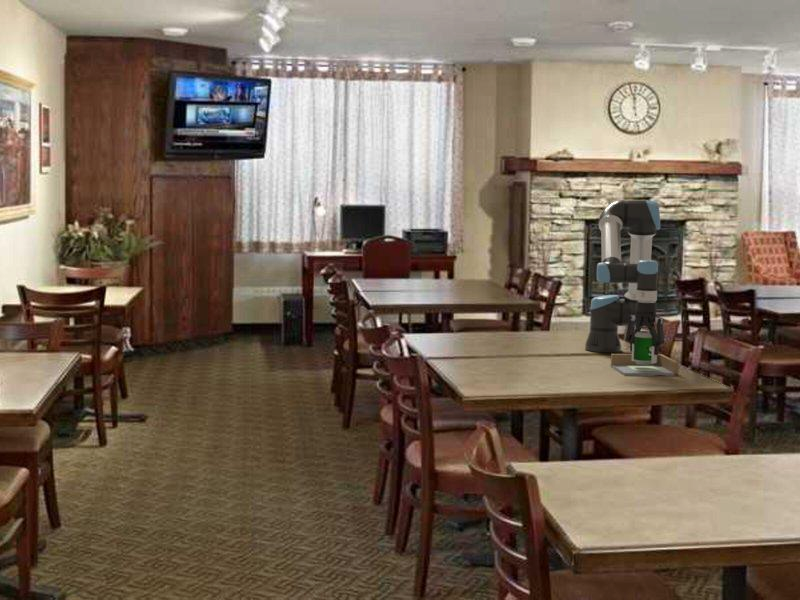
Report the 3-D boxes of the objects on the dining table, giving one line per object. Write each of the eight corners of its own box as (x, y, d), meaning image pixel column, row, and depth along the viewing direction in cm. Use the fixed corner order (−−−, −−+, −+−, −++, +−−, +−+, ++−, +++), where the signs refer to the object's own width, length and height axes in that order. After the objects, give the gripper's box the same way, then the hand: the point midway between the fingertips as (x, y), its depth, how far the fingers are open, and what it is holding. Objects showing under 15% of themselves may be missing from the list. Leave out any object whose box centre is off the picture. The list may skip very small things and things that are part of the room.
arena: (610, 366, 409) (611, 353, 409) (661, 366, 411) (662, 354, 410) (624, 375, 390) (625, 362, 389) (678, 375, 391) (678, 362, 390)
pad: (627, 366, 405) (627, 365, 405) (652, 366, 405) (652, 365, 405) (634, 370, 395) (634, 370, 395) (660, 370, 395) (660, 370, 395)
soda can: (644, 365, 395) (645, 333, 393) (629, 362, 401) (630, 331, 400) (658, 364, 399) (659, 332, 398) (643, 361, 405) (644, 330, 404)
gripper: (617, 300, 401) (615, 359, 404) (666, 304, 388) (663, 366, 390) (627, 298, 407) (624, 357, 409) (676, 303, 394) (673, 364, 396)
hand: (644, 361), depth 400 cm, fingers closed on soda can, 7 cm apart
